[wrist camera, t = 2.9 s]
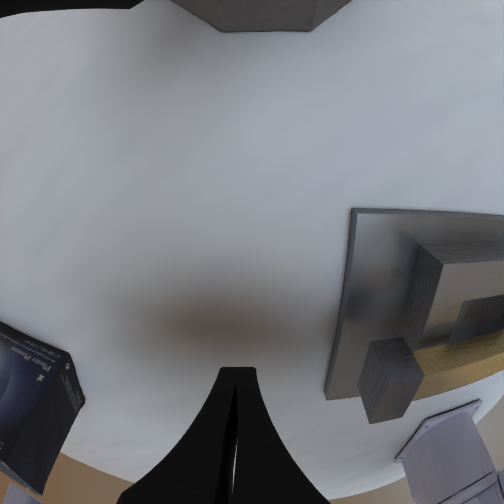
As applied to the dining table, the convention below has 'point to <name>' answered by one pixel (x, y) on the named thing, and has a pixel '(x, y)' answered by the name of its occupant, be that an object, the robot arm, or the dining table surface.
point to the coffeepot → (210, 11)
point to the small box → (34, 407)
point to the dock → (391, 281)
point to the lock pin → (423, 371)
